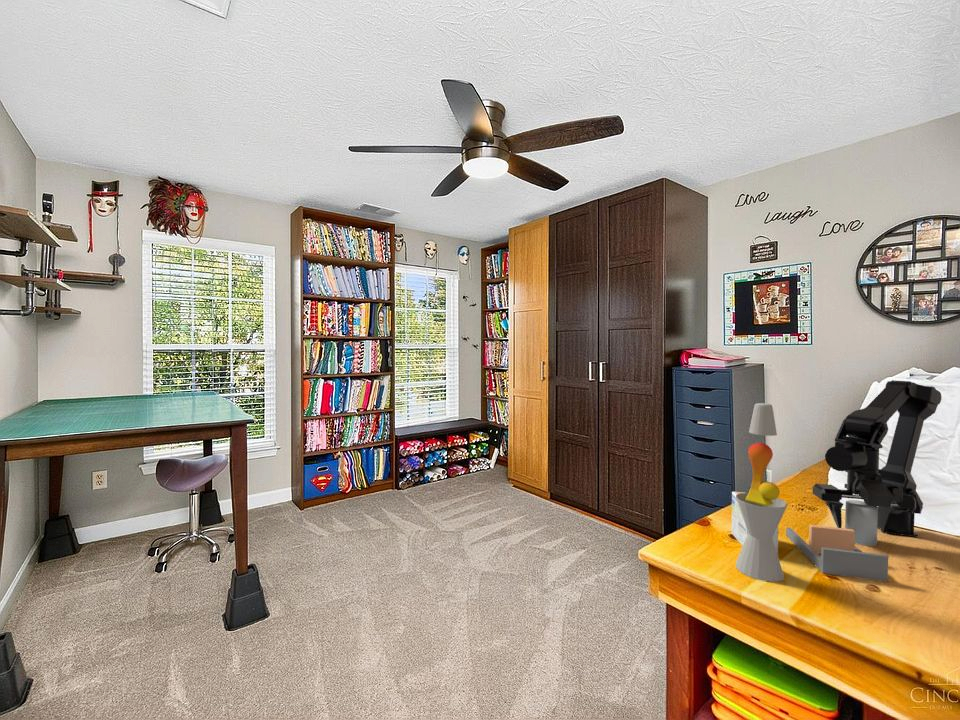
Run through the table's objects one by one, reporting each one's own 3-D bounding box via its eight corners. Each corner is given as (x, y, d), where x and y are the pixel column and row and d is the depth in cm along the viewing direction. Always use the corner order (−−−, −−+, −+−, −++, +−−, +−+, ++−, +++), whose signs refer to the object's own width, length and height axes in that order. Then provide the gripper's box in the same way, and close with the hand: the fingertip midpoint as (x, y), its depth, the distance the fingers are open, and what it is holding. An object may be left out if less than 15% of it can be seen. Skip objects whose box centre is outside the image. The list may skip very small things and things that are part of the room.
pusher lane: (837, 540, 108) (838, 520, 108) (887, 581, 89) (888, 556, 89) (785, 535, 111) (786, 515, 111) (822, 573, 92) (823, 549, 92)
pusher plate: (851, 555, 99) (852, 529, 99) (854, 558, 98) (855, 531, 98) (808, 550, 101) (809, 524, 101) (810, 553, 100) (811, 526, 100)
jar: (868, 537, 110) (869, 501, 110) (882, 547, 104) (883, 509, 104) (839, 534, 112) (840, 499, 112) (852, 544, 106) (853, 507, 106)
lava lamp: (726, 568, 93) (730, 402, 92) (744, 556, 99) (749, 400, 98) (775, 587, 86) (780, 407, 85) (792, 573, 92) (796, 404, 91)
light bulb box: (778, 555, 100) (780, 507, 100) (746, 551, 101) (747, 505, 101) (759, 535, 110) (760, 492, 110) (729, 533, 112) (730, 490, 112)
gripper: (833, 472, 103) (831, 538, 103) (933, 479, 97) (931, 549, 98) (812, 460, 113) (810, 521, 114) (901, 467, 108) (899, 530, 108)
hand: (860, 530), depth 108 cm, fingers open, 9 cm apart
